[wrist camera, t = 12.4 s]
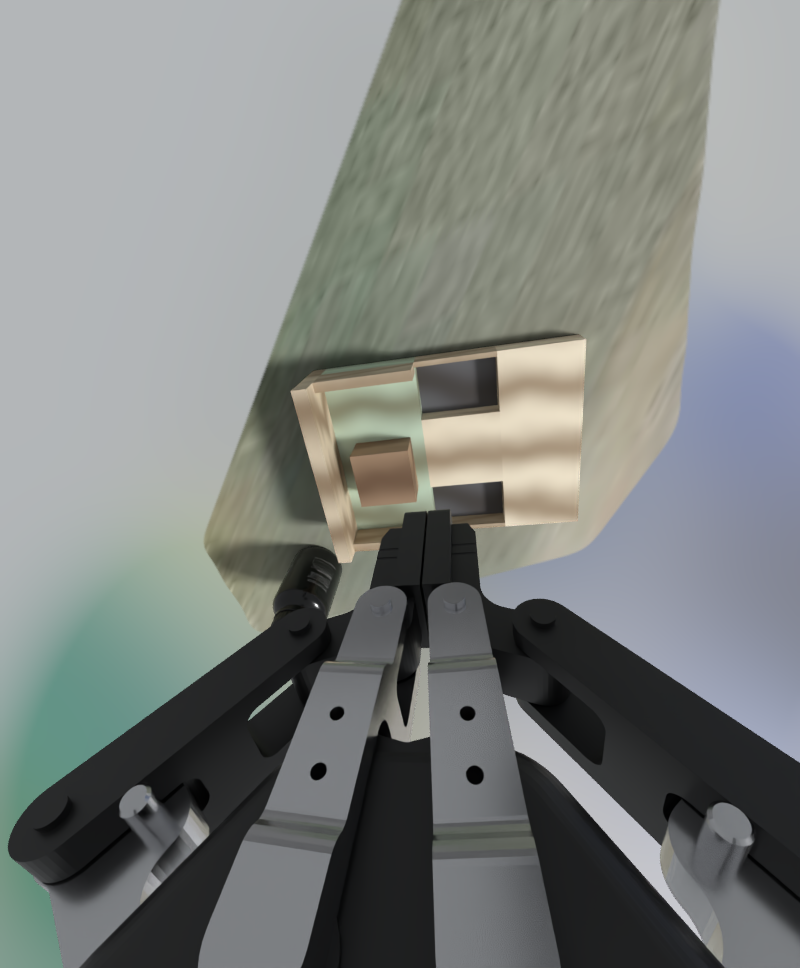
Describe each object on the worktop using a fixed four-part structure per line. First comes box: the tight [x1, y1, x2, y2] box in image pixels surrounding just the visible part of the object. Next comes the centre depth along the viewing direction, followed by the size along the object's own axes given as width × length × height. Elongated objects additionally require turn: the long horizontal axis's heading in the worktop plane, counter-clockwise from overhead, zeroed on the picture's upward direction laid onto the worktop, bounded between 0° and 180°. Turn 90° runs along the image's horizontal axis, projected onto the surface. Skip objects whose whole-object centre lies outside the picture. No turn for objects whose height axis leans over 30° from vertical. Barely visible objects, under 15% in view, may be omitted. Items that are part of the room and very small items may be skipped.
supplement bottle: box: [271, 547, 342, 626], centre depth 53 cm, size 7×7×12 cm
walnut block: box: [350, 437, 419, 507], centre depth 46 cm, size 6×6×4 cm
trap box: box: [291, 334, 586, 563], centre depth 45 cm, size 20×27×8 cm
